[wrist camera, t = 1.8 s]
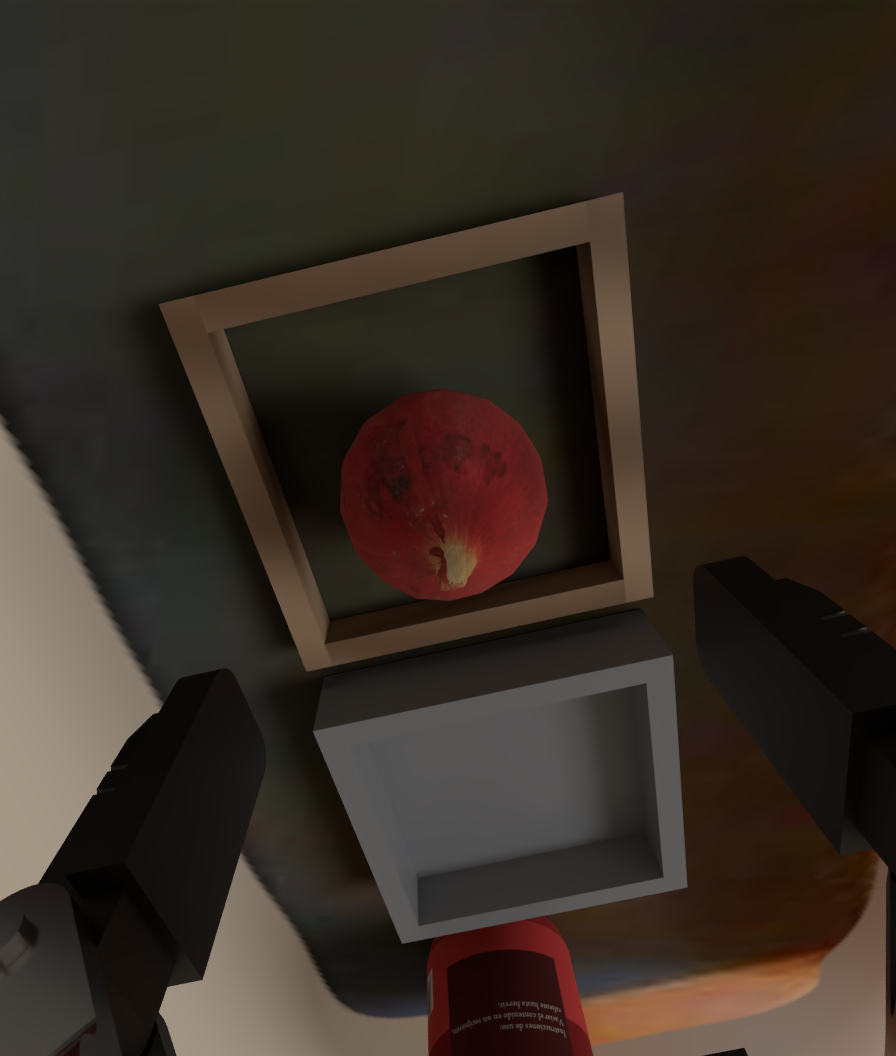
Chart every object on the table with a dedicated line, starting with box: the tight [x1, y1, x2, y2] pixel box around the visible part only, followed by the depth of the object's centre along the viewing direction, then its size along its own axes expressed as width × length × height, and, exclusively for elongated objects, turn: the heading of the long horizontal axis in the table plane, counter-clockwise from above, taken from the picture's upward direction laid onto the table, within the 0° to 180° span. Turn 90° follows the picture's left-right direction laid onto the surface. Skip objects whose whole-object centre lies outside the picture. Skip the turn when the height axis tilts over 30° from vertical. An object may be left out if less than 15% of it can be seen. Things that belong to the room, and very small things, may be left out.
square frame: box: [159, 192, 653, 672], centre depth 19 cm, size 13×13×2 cm
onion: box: [340, 389, 548, 601], centre depth 16 cm, size 6×6×8 cm
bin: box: [313, 609, 687, 944], centre depth 24 cm, size 13×13×3 cm
